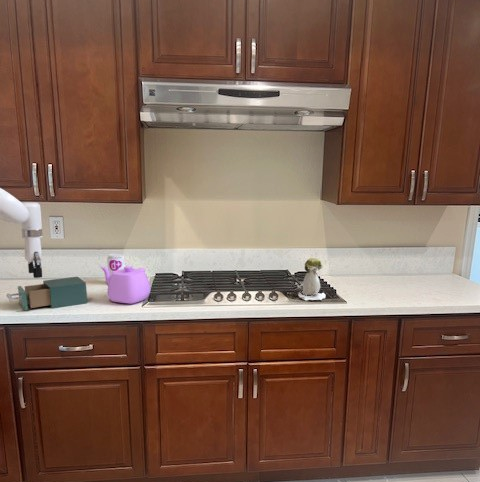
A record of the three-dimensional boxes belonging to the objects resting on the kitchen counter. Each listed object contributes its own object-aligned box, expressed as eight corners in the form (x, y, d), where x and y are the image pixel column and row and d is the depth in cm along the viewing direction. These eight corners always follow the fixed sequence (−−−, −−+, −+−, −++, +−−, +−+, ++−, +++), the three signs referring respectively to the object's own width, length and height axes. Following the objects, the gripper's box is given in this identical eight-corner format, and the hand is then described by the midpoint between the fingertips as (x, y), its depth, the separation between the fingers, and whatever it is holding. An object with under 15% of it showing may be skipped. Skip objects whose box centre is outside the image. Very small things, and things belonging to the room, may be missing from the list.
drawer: (11, 312, 184) (9, 294, 182) (6, 304, 193) (4, 287, 191) (59, 304, 194) (58, 288, 192) (53, 298, 203) (51, 282, 201)
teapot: (160, 294, 214) (159, 262, 210) (135, 307, 195) (133, 272, 191) (118, 289, 222) (116, 258, 218) (89, 301, 202) (87, 267, 198)
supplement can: (123, 286, 226) (122, 256, 222) (106, 286, 226) (105, 256, 222) (127, 282, 234) (126, 253, 230) (111, 282, 234) (109, 253, 230)
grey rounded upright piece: (293, 299, 211) (295, 259, 206) (303, 292, 222) (305, 254, 217) (319, 302, 206) (321, 262, 201) (327, 295, 217) (330, 257, 212)
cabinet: (51, 308, 192) (49, 287, 189) (44, 300, 202) (42, 280, 199) (87, 303, 200) (85, 282, 197) (79, 296, 210) (77, 276, 207)
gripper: (18, 231, 192) (21, 271, 196) (26, 236, 178) (29, 280, 182) (37, 230, 196) (40, 270, 200) (47, 235, 182) (50, 278, 186)
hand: (35, 275), depth 191 cm, fingers open, 9 cm apart
